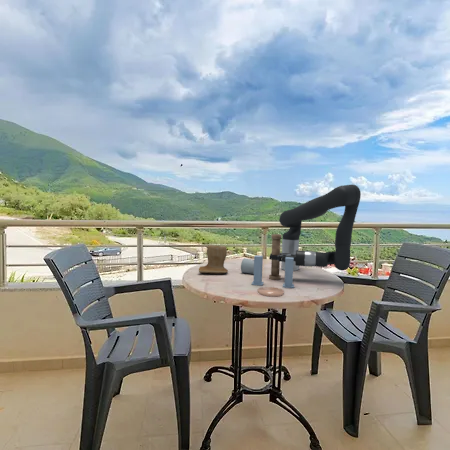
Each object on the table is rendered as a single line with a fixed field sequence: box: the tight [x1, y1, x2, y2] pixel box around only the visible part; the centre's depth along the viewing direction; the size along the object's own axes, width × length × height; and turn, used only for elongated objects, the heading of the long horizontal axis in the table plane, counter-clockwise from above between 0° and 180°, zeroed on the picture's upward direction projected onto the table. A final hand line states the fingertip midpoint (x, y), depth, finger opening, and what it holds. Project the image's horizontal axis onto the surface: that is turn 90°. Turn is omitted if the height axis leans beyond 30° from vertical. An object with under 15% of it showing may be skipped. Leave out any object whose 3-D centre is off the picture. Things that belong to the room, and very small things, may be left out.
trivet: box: [256, 286, 285, 298], centre depth 136 cm, size 11×11×1 cm
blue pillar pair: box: [251, 255, 295, 289], centre depth 148 cm, size 19×5×13 cm, turn 77°
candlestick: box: [268, 233, 282, 281], centre depth 160 cm, size 6×6×22 cm
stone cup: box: [198, 244, 229, 275], centre depth 170 cm, size 15×12×15 cm
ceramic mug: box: [240, 257, 254, 275], centre depth 173 cm, size 11×8×8 cm
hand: (270, 256), depth 161 cm, fingers closed on candlestick, 4 cm apart
